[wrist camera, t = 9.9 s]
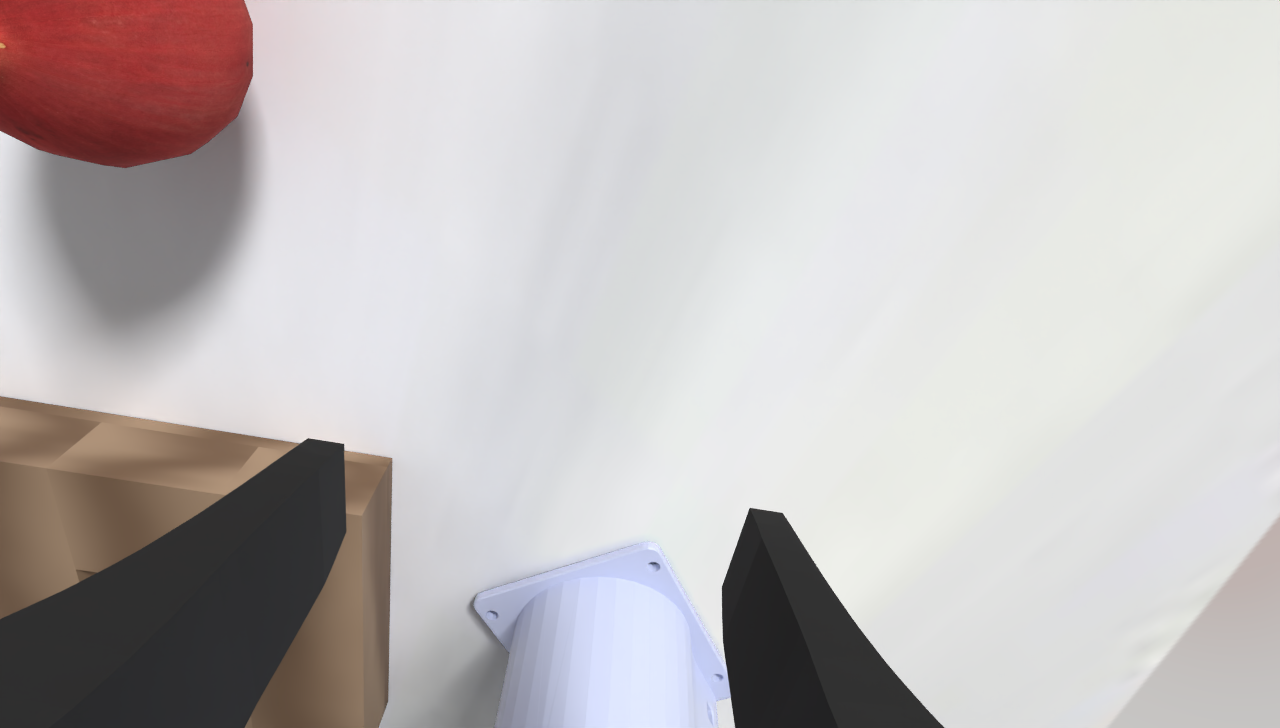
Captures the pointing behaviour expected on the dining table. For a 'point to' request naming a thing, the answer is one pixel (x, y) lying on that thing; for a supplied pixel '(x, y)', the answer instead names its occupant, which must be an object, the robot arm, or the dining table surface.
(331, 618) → the pocket block
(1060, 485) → the dining table surface
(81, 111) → the red rounded piece
